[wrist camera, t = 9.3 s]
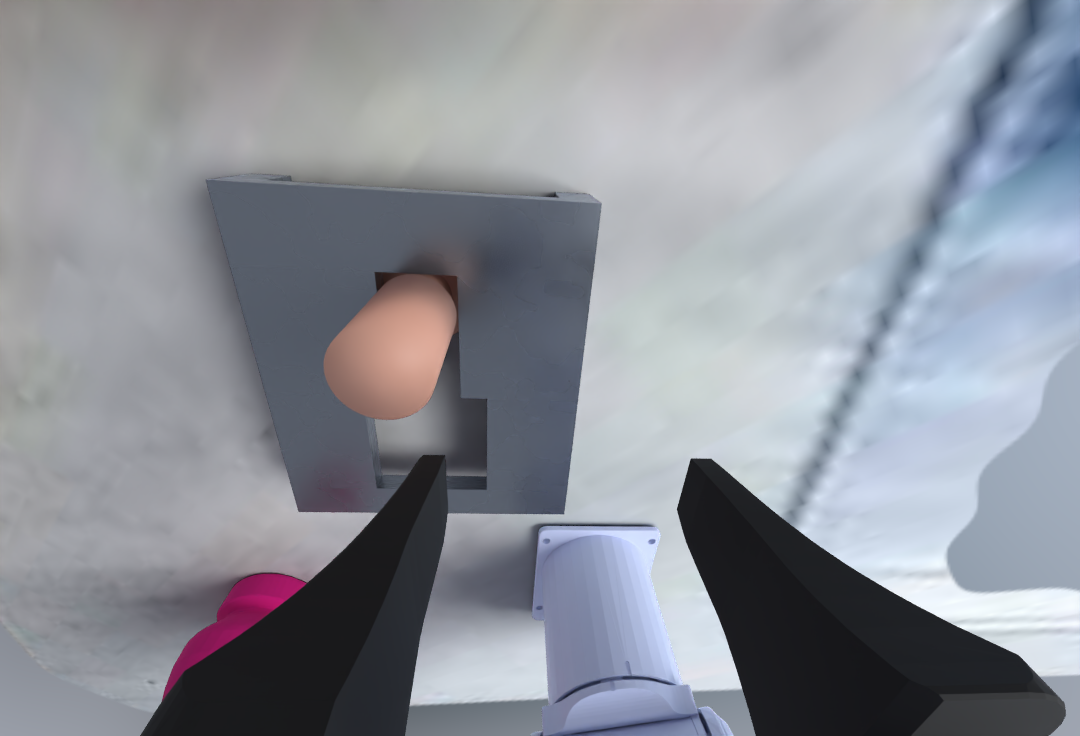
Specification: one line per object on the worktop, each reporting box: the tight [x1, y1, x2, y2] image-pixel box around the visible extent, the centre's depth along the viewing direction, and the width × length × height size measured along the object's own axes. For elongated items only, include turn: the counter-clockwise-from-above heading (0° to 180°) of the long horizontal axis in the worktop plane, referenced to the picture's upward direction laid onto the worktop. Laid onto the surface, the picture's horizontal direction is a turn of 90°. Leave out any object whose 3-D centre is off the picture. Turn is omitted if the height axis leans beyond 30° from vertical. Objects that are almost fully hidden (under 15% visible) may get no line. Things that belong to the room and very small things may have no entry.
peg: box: [324, 272, 459, 420], centre depth 16 cm, size 4×4×9 cm
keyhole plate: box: [206, 174, 602, 514], centre depth 21 cm, size 16×14×3 cm
